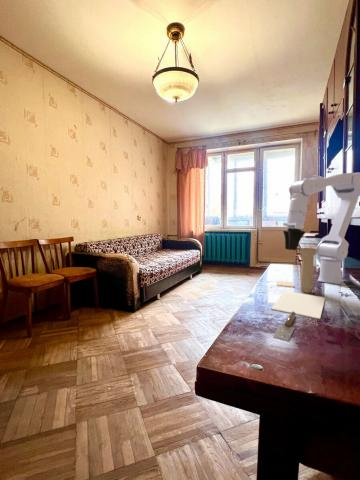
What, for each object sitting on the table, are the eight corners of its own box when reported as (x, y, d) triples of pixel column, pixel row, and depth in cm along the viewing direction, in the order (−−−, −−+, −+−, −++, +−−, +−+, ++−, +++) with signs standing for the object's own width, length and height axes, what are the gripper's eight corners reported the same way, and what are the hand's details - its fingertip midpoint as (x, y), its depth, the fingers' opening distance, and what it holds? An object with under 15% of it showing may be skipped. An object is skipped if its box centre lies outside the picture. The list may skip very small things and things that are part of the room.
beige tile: (276, 283, 99) (276, 280, 99) (292, 284, 97) (292, 282, 97) (276, 287, 93) (276, 284, 93) (294, 288, 91) (294, 286, 91)
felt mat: (285, 291, 86) (285, 290, 86) (325, 298, 79) (325, 297, 79) (270, 309, 69) (270, 308, 69) (320, 319, 62) (320, 318, 62)
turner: (287, 314, 65) (287, 310, 65) (299, 317, 64) (299, 312, 64) (273, 337, 53) (273, 332, 53) (288, 341, 51) (288, 335, 51)
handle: (315, 291, 87) (317, 248, 85) (312, 295, 82) (314, 250, 80) (300, 288, 90) (302, 247, 88) (296, 292, 85) (298, 249, 83)
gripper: (282, 214, 98) (276, 247, 99) (289, 208, 84) (281, 247, 85) (301, 216, 97) (295, 250, 97) (311, 211, 83) (304, 251, 83)
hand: (290, 249), depth 91 cm, fingers open, 7 cm apart
